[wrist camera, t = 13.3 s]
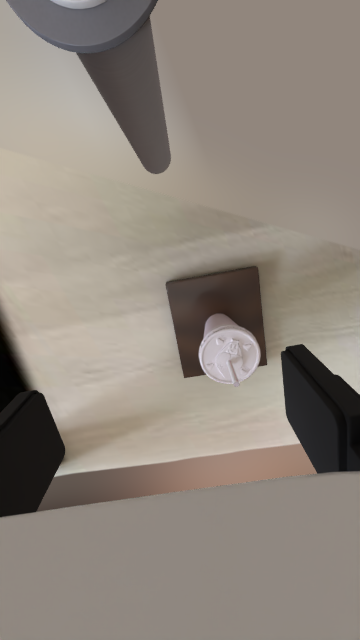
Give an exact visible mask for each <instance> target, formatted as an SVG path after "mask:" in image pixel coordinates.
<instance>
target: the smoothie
mask: <svg viewBox="0 0 360 640" xmlns="http://www.w3.org/2000/svg"><path fill="white" fill-rule="evenodd" d="M260 356H261V353H260V348H259V345H258V343H257V340H256V338H255V337H254V336H253V335H252V333H251V332H249V331H248V330H246V329H245V328H242V327H239V326H238V325H237V324H236V323H235V322H233V321H232V320H231V319H230V318H229V317H228V316H226V315H224V314H214V315H212V316H210V317H209V318H208V320H207V321H206V324H205V330H204V338H203V340H202V342H201V345H200V347H199V360H200V364H201V367H202V369H203V371H204V372H205V373H206V375H207V376H208V377H210V378H211V379H213V380H214V381H217V382H220V383H225V384H233V385H234V386H235V387H238V386H239V385H240V383H239V382H241V381H243V380H245V379H247V378H248V377H250V376H251V375H252V374H253V373H254V372H255V370H256V369H257V367H258V365H259V362H260Z"/></svg>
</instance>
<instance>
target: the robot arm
mask: <svg viewBox="0 0 360 640" xmlns="http://www.w3.org/2000/svg"><path fill="white" fill-rule="evenodd" d="M51 1H52V2H54V3H56V4H58V5H61V6H64V7H67V8H71V9H86V8H92V7H95V6H97V5H99V4H101V3H104V2H105V1H107V0H51ZM281 360H282V372H283V384H284V396H285V408H286V415H287V418H288V421H289V423H290V425H291V426H292V428H293V430H294V432H295V434H296V435H297V437H298V439H299V441H300V443H301V445H302V446H303V448H304V450H305V452H306V454H307V455H308V457H309V459H310V461H311V463H312V464H313V466H314V468H315V470H316V472H317V474H310V475H300V476H290V477H282V478H275V479H268V480H260V481H253V482H246V483H238V484H232V485H224V486H216V487H210V488H202V489H195V490H187V491H180V492H173V493H166V494H158V495H152V496H144V497H137V498H131V499H123V500H116V501H110V502H102V503H96V504H88V505H81V506H75V507H67V508H61V509H54V510H47V511H40V512H36V511H37V509H38V507H39V505H40V503H41V501H42V499H43V497H44V495H45V493H46V491H47V489H48V487H49V485H50V483H51V481H52V479H53V477H54V475H55V473H56V471H57V469H58V467H59V465H60V463H61V461H62V459H63V458H64V455H65V446H64V444H63V441H62V439H61V436H60V434H59V431H58V429H57V427H56V424H55V422H54V419H53V417H52V414H51V412H50V410H49V407H48V405H47V402H46V400H45V397H44V395H43V394H42V393H39V392H38V391H36V390H33V391H27V392H22V393H19V394H18V395H17V396H16V397H15V398H14V399H13V400H12V401H11V402H10V403H9V404H8V405H7V406H6V408H5V409H4V410H3V411H2V412H1V413H0V640H360V395H359V394H358V393H357V392H356V391H355V390H354V389H353V388H352V387H351V386H350V385H349V384H347V383H346V382H345V381H344V380H343V379H342V378H341V377H340V376H338V375H334V374H333V373H332V372H331V371H330V370H329V369H328V368H327V367H326V366H325V365H324V364H323V363H322V362H321V361H319V360H318V359H317V358H316V357H315V356H314V355H313V354H312V353H311V352H310V351H309V350H308V349H307V348H306V347H305V346H304V345H303V344H300V345H294V346H288V347H286V350H285V351H282V352H281Z"/></svg>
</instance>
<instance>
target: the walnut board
mask: <svg viewBox="0 0 360 640" xmlns="http://www.w3.org/2000/svg"><path fill="white" fill-rule="evenodd" d="M166 289H167V294H168V299H169V304H170V309H171V314H172V319H173V324H174V329H175V334H176V339H177V344H178V349H179V354H180V359H181V364H182V369H183V374H184V378H188V377H194V376H200V375H206V373H205V372H204V371H203V369H202V367H201V364H200V360H199V347H200V345H201V342H202V340H203V338H204V330H205V324H206V321H207V320H208V318H209V317H210V316H212V315H214V314H224V315H226V316H228V317H229V318H230V319H231V320H232V321H233V322H235V323H236V324H237V325H238V326H239V327H242V328H245V329H246V330H248V331H249V332H251V333H252V335H253V336H254V337H255V338H256V340H257V343H258V345H259V348H260V353H261V356H260V362H259V365H258V366H264V365H267V358H266V348H265V337H264V327H263V316H262V306H261V295H260V285H259V274H258V267H256V266H253V267H247V268H242V269H236V270H231V271H225V272H219V273H214V274H208V275H203V276H197V277H192V278H186V279H180V280H175V281H169V282H166Z"/></svg>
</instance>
